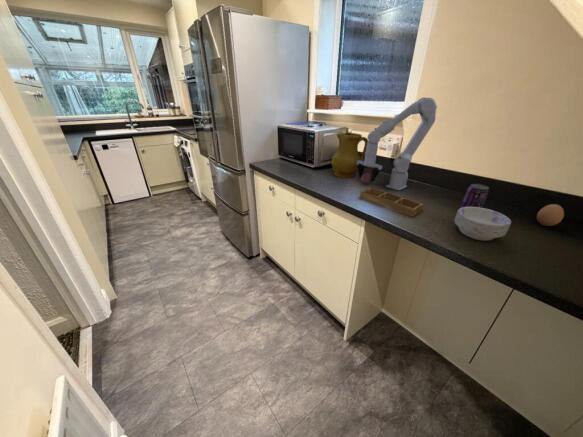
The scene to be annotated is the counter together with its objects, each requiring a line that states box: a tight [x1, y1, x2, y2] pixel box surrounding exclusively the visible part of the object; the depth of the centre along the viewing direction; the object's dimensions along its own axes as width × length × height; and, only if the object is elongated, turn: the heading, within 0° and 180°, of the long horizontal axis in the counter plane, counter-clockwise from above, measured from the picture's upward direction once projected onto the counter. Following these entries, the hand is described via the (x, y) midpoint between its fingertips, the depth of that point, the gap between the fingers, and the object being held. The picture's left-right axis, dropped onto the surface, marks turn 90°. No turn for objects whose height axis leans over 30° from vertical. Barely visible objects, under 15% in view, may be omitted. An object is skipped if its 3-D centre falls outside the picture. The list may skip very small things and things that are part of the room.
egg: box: [536, 203, 565, 227], centre depth 90 cm, size 7×7×9 cm
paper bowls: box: [454, 207, 512, 242], centre depth 83 cm, size 15×15×8 cm
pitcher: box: [331, 131, 369, 179], centre depth 140 cm, size 17×19×25 cm
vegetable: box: [360, 167, 372, 185], centre depth 129 cm, size 6×6×10 cm
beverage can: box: [459, 183, 490, 209], centre depth 98 cm, size 7×7×12 cm
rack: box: [359, 187, 424, 218], centre depth 107 cm, size 9×26×4 cm, turn 41°
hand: (366, 179), depth 130 cm, fingers open, 7 cm apart
